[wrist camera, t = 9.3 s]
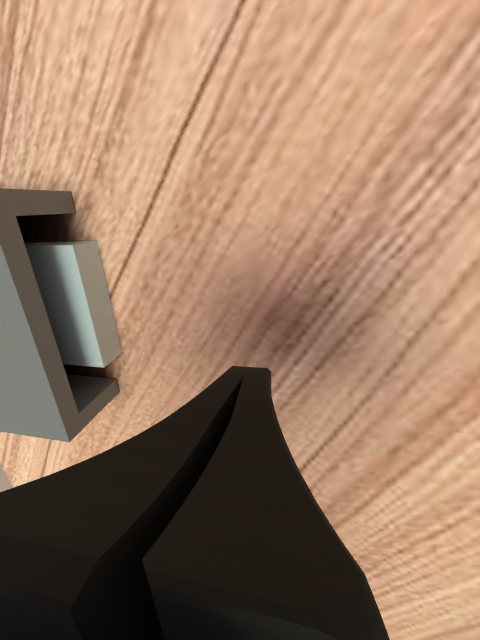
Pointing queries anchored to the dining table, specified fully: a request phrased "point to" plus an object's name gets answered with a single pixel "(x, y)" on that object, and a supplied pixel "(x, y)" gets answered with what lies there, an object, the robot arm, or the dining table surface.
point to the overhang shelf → (37, 337)
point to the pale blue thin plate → (76, 301)
